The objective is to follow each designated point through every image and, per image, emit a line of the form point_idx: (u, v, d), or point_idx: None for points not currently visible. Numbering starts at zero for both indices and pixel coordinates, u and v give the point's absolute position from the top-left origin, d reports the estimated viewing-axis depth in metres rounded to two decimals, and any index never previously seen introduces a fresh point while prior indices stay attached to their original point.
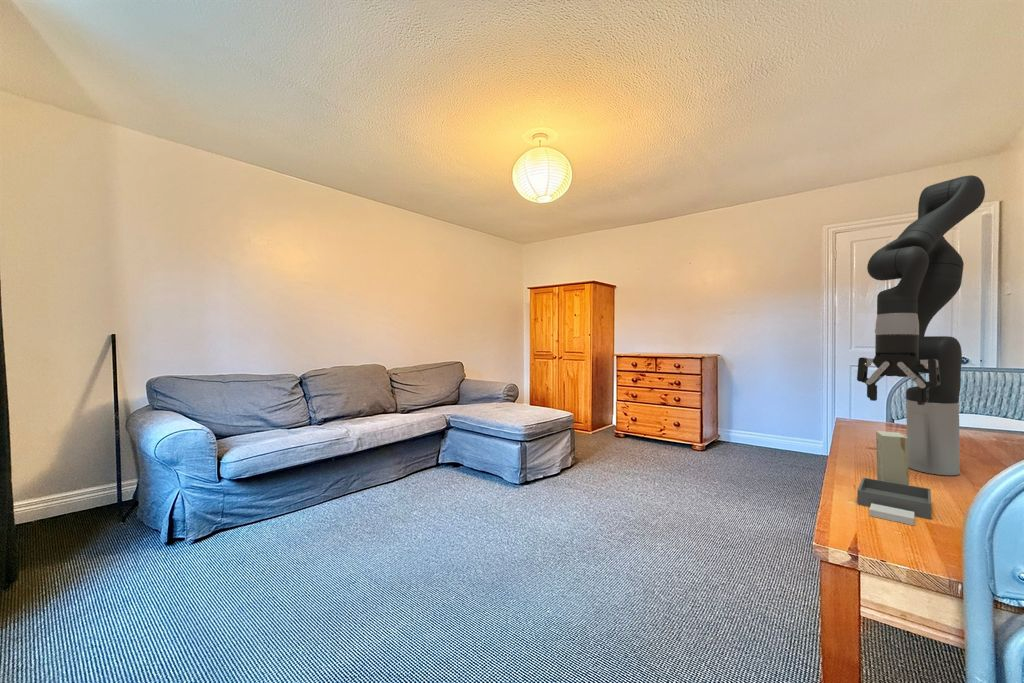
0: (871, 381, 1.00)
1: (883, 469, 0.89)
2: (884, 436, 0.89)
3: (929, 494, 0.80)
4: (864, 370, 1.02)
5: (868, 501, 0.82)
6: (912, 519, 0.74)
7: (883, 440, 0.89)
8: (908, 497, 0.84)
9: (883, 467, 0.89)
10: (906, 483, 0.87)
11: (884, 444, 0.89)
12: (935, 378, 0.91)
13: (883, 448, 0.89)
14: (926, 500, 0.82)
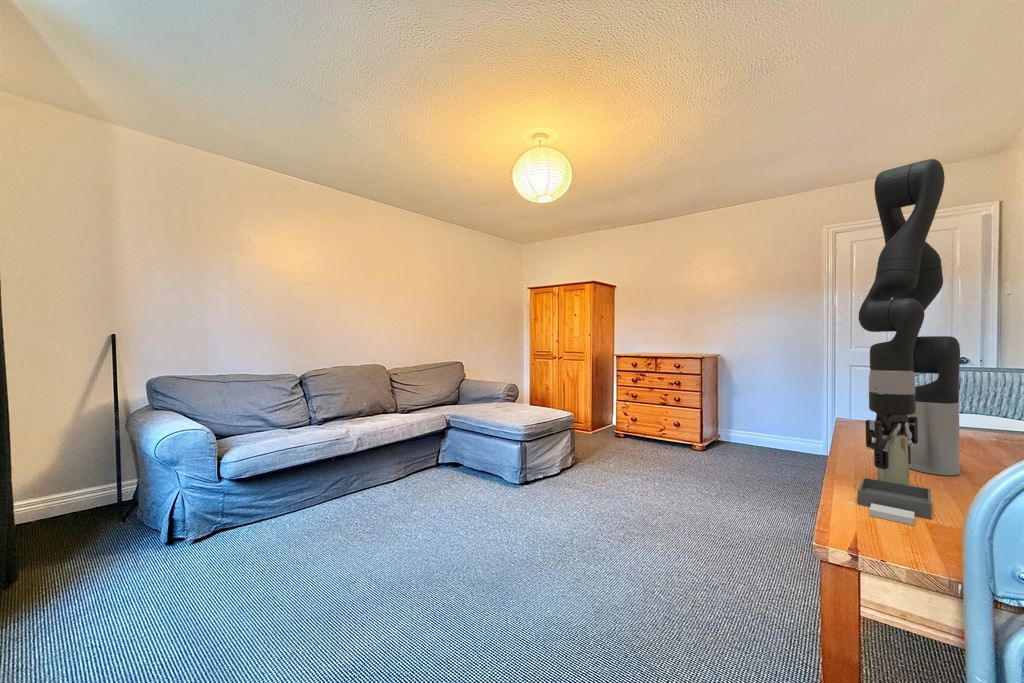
0: (887, 447, 0.88)
1: (883, 469, 0.89)
2: (884, 436, 0.89)
3: (929, 494, 0.80)
4: None
5: (868, 501, 0.82)
6: (912, 519, 0.74)
7: None
8: (908, 497, 0.84)
9: None
10: (906, 483, 0.87)
11: None
12: (917, 436, 0.92)
13: None
14: (926, 500, 0.82)
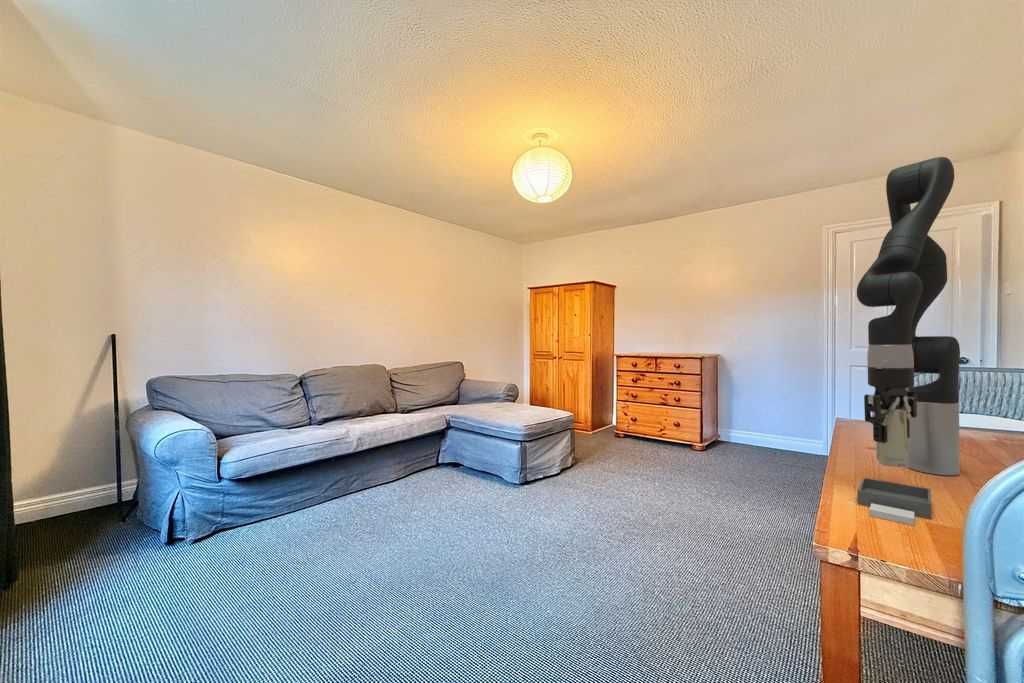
0: (886, 421, 0.88)
1: (882, 443, 0.90)
2: (883, 410, 0.89)
3: (929, 494, 0.80)
4: None
5: (868, 501, 0.82)
6: (912, 519, 0.74)
7: None
8: (908, 497, 0.84)
9: None
10: (905, 456, 0.88)
11: None
12: (916, 410, 0.92)
13: None
14: (926, 500, 0.82)
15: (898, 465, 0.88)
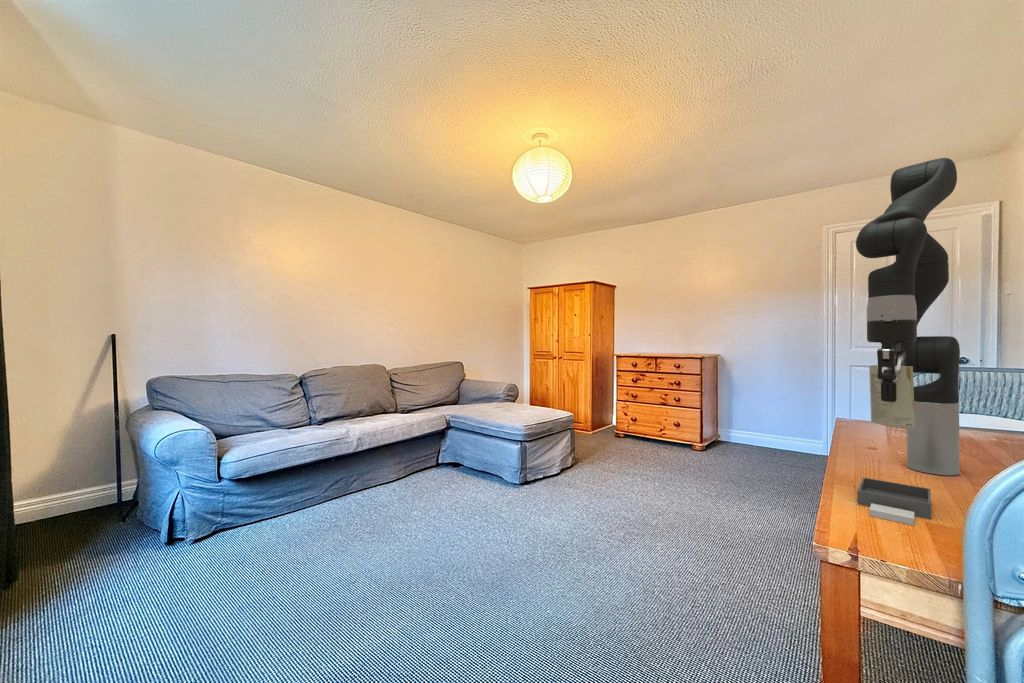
0: (896, 378, 0.81)
1: (890, 403, 0.82)
2: None
3: (929, 494, 0.80)
4: None
5: (868, 501, 0.82)
6: (912, 519, 0.74)
7: None
8: (908, 497, 0.84)
9: None
10: (912, 415, 0.81)
11: None
12: None
13: None
14: (926, 500, 0.82)
15: (905, 425, 0.81)
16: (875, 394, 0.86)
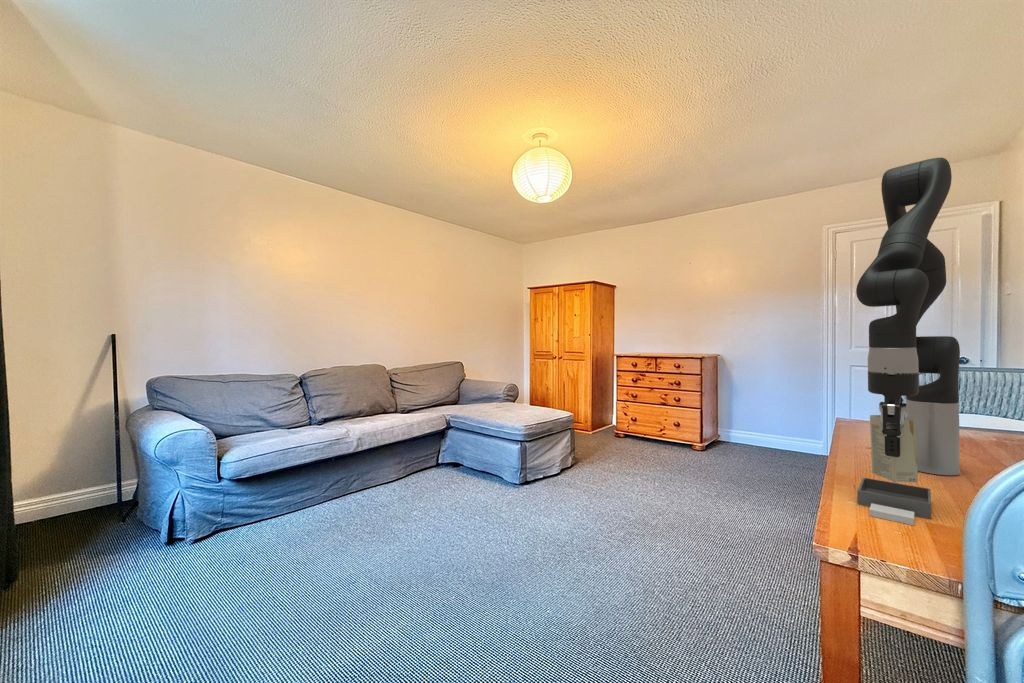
0: (900, 433, 0.79)
1: (893, 457, 0.80)
2: None
3: (929, 494, 0.80)
4: None
5: (868, 501, 0.82)
6: (912, 519, 0.74)
7: (893, 425, 0.80)
8: (908, 497, 0.84)
9: None
10: (915, 470, 0.80)
11: None
12: None
13: None
14: (926, 500, 0.82)
15: (909, 480, 0.80)
16: (877, 445, 0.84)
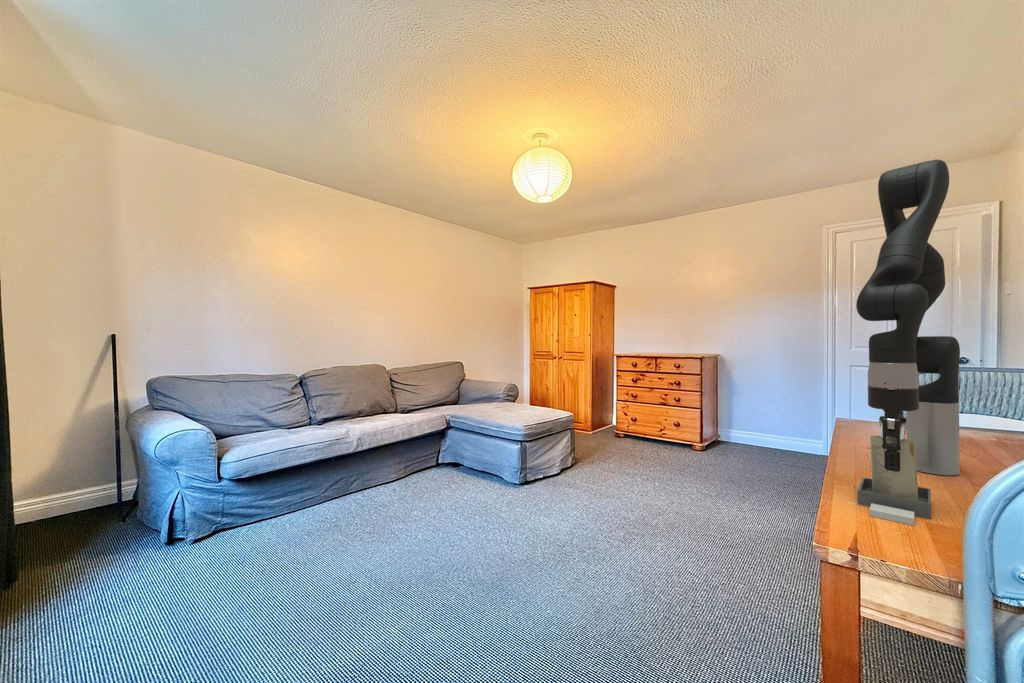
0: (900, 447, 0.79)
1: (894, 479, 0.81)
2: (894, 442, 0.81)
3: (929, 494, 0.80)
4: None
5: (868, 501, 0.82)
6: (912, 519, 0.74)
7: None
8: None
9: (894, 477, 0.81)
10: (915, 492, 0.80)
11: None
12: None
13: None
14: (926, 500, 0.82)
15: None
16: (877, 466, 0.85)
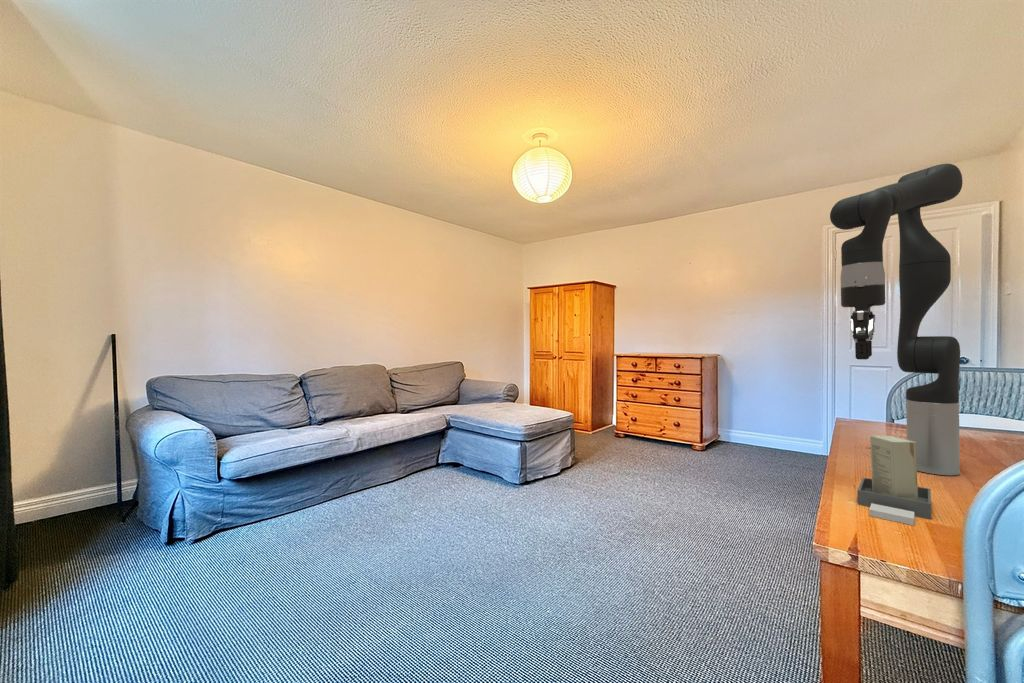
0: (869, 337, 0.88)
1: (894, 479, 0.81)
2: (894, 442, 0.81)
3: (929, 494, 0.80)
4: None
5: (868, 501, 0.82)
6: (912, 519, 0.74)
7: (894, 447, 0.81)
8: None
9: (894, 477, 0.81)
10: (915, 492, 0.80)
11: (895, 451, 0.81)
12: None
13: (894, 456, 0.81)
14: (926, 500, 0.82)
15: None
16: (877, 466, 0.85)
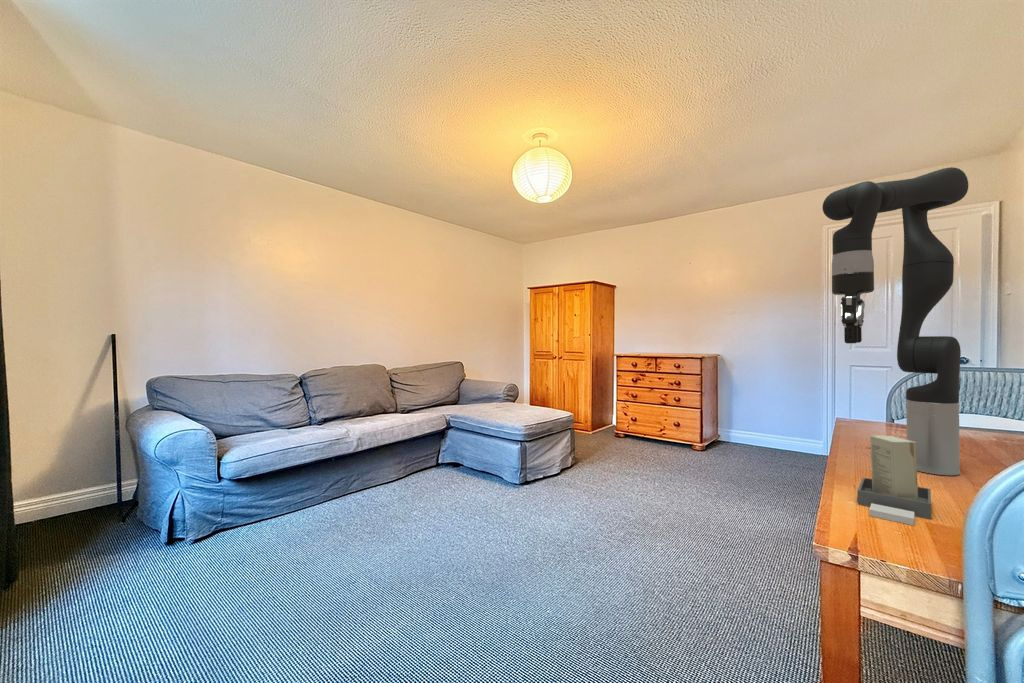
0: (857, 322, 0.92)
1: (894, 479, 0.81)
2: (894, 442, 0.81)
3: (929, 494, 0.80)
4: None
5: (868, 501, 0.82)
6: (912, 519, 0.74)
7: (894, 447, 0.81)
8: None
9: (894, 477, 0.81)
10: (915, 492, 0.80)
11: (895, 451, 0.81)
12: None
13: (894, 456, 0.81)
14: (926, 500, 0.82)
15: None
16: (877, 466, 0.85)
